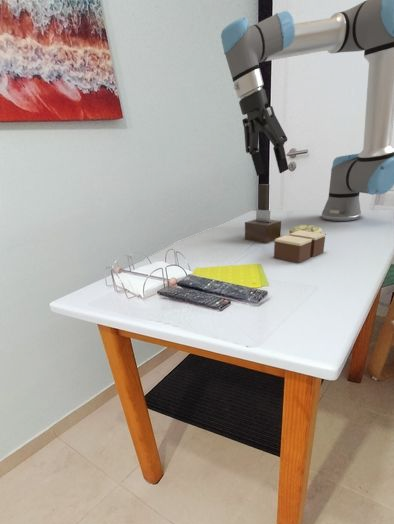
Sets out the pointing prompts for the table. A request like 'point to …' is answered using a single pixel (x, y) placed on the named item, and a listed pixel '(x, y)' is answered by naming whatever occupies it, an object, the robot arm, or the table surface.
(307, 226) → the decorated donut
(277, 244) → the cake slice
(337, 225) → the table surface
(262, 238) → the knife block
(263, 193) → the knife
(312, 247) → the cake
